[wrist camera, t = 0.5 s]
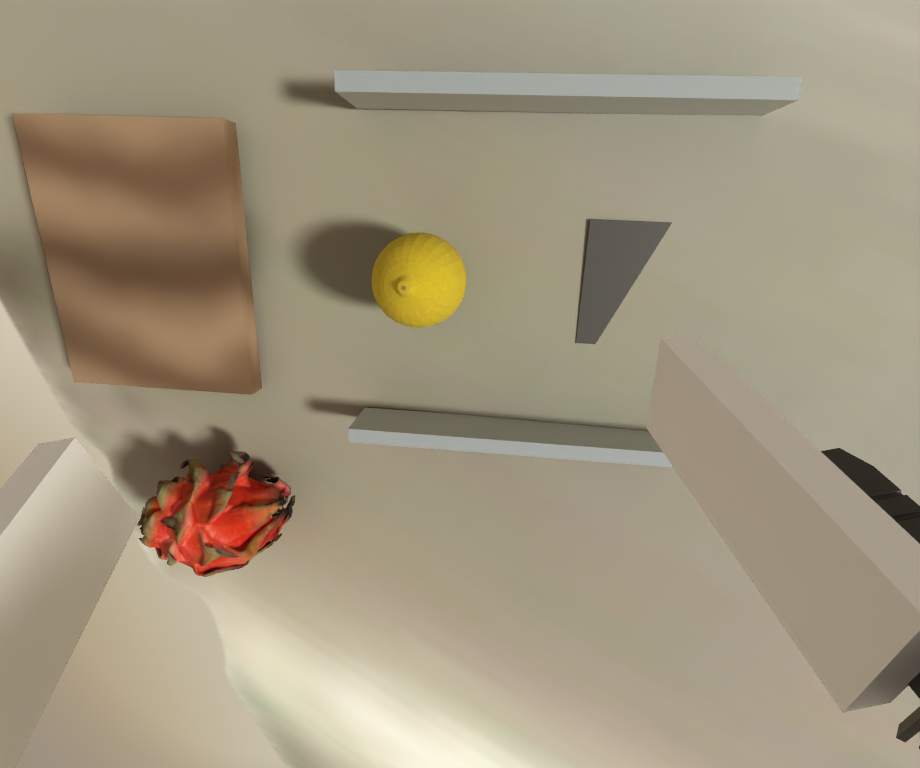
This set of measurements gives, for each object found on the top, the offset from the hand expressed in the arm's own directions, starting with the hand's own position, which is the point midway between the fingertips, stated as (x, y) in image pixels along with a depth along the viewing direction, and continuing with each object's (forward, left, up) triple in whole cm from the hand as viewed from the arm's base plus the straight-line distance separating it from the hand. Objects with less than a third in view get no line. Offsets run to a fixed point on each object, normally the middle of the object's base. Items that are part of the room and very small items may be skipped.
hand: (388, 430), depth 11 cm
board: (-1, -22, -23) cm, 32 cm away
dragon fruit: (+17, -17, -23) cm, 33 cm away
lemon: (-1, -2, -23) cm, 23 cm away
